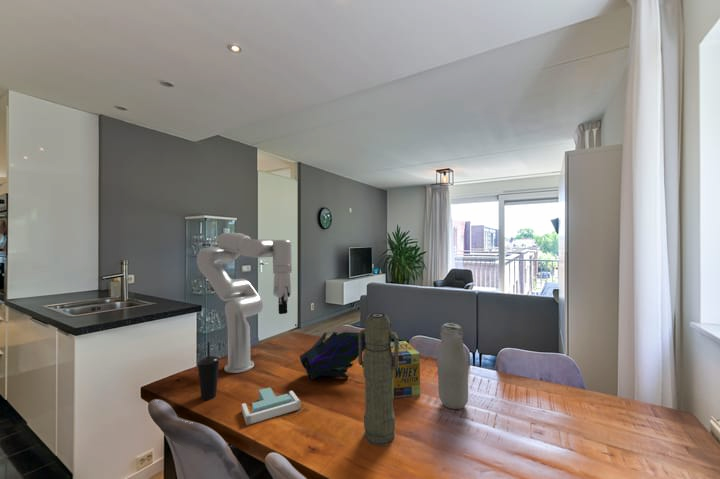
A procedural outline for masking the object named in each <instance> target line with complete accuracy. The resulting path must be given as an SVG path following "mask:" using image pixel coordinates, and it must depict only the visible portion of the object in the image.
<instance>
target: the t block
mask: <svg viewBox="0 0 720 479" xmlns="http://www.w3.org/2000/svg"><path fill="white" fill-rule="evenodd" d="M290 402H291V398H290V397H289V393H285V394H281V395H278V396H276V394H275V393H274V390H272V388H271V387H267V388H266V387H265V388H262V389H258V401H255V402H251V414H252V413H255V412H259V411H262V410H266V409H269V408H273V407H276V406H280V405H283V404H287V403H290Z"/></svg>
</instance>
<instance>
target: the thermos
mask: <svg viewBox="0 0 720 479" xmlns="http://www.w3.org/2000/svg"><path fill="white" fill-rule="evenodd" d="M358 333H359V334H358V349H359V356H358V364H359V366H362V368H363V377H364V385H365V386H364V389H365V390H364V391H365V392H364V395H365V412H364V415H363V428H364V439H365V440H366V441H367V443H369V444H370V445H374V446H379V447H380V446H387V445H390V444H391V443H392V442H393V441H395V430H396V429H395V428H396V419H395V418H396V415H395V410H394V407H393V406H394V404H393V403H394V402H393V401H394V399H393V392H392V378H393V376H394V370H395V369H396V368H397V367H398V365H399V361H398V350H399V341H400V339H399V338H400V337H399V335H398V334H397V333H396V331H392V325H391V321H390V318H389V316H388V315H387V314H386V313H382V312H372V313H370V314H368V315H367V317H366V320H365V323H364V328H362V329H361V330H360V331H359V332H358ZM362 333H363V334H365V343H366V346H365V349H364V353H363V351H362ZM392 338H393V342H394V357H393V354H392V351H391V342H392ZM394 358H395V364H394Z"/></svg>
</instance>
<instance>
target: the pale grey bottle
mask: <svg viewBox="0 0 720 479" xmlns="http://www.w3.org/2000/svg"><path fill="white" fill-rule="evenodd" d="M440 327H441V328H440V345H439V349H438V353H437V361H436V362H437V363H436V364H437V380H438V381H437V382H438V384H437V385H438V386H437V387H438V388H437V389H438V396H439V400H440V402H441V403H442V405H444V406H445V407H447V408H449V409H454V410H459V409H463V408H464V407H465V406H466V405H467V403H468V402H469V364H468V362H469V360H468V356H467V351H466V349H465V346H464V340H463V336H464V333H463V328H462V326H460V324H457V323H454V322H445V323H444V324H443V325H441V326H440Z"/></svg>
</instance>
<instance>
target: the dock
mask: <svg viewBox="0 0 720 479" xmlns="http://www.w3.org/2000/svg"><path fill="white" fill-rule="evenodd" d="M288 395H289V397H290V398H291V402H290V403H287V404H283V405H280V406H276V407H273V408H269V409H266V410H262V411H259V412H255V413H252V412H251V413H250V410H249V408H248V406H247V403H246V402H245V403H241V412H242V416H243V418H244V422H245V424H246V425H247V426H249V425H251V424H255V423H258V422H262V421H265V420H268V419H272V418H274V417H275V418H276V417H277V416H283V415H286V414H288V413H292V412H294V411H297V410H301V409H302V408H301V405H302V404H301V400H300V399H299V398H298V396H297V395H296V393H295V392H294V391H293V390H290V391H288Z"/></svg>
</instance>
